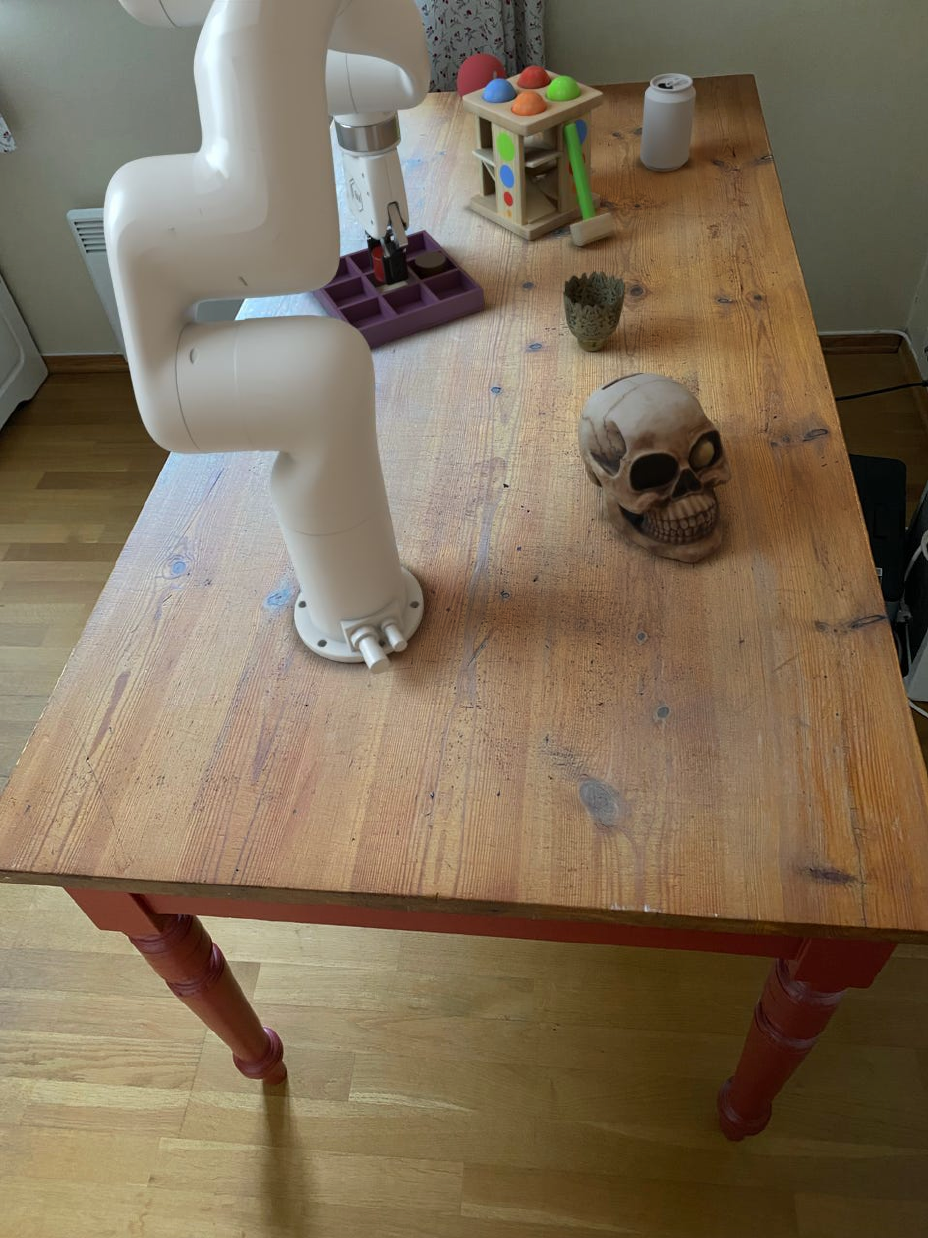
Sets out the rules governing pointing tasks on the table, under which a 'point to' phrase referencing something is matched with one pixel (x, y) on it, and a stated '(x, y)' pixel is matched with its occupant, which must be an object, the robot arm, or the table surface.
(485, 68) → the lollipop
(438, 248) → the board
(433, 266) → the walnut token
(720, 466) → the coin bank
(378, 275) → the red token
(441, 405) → the table surface
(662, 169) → the can
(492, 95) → the pounding bench toy
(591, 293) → the cup
